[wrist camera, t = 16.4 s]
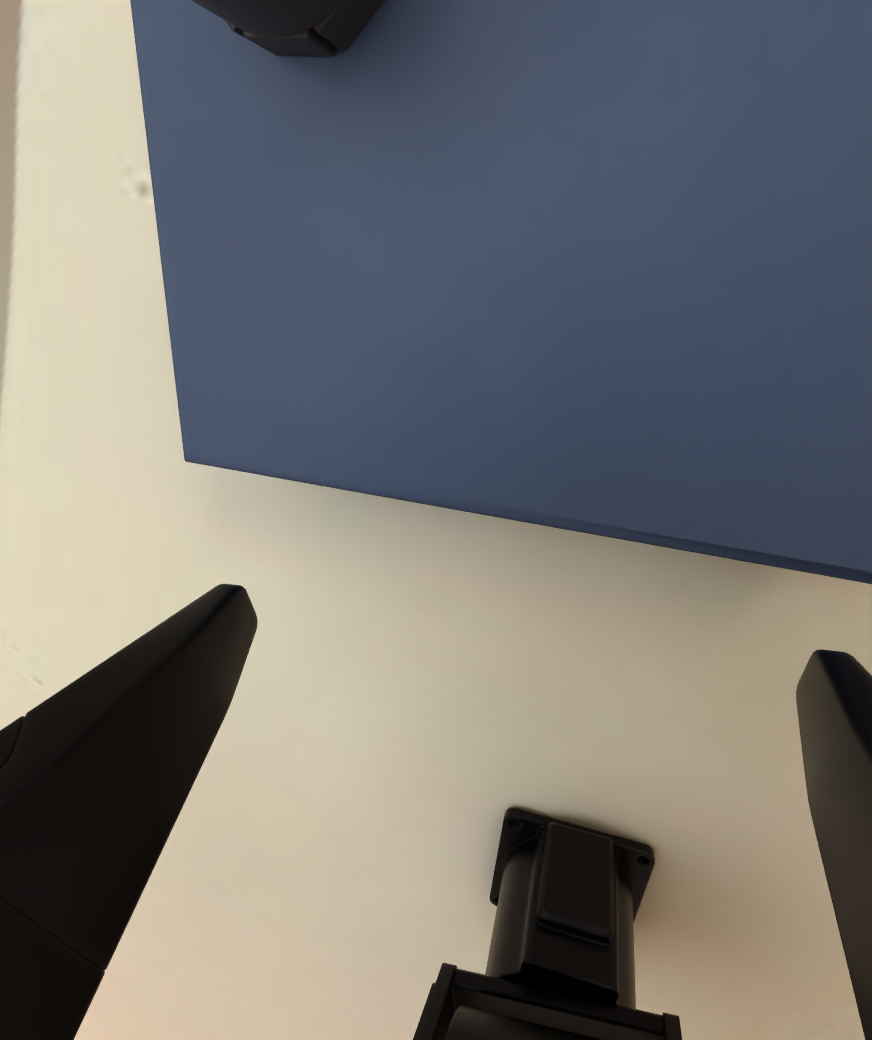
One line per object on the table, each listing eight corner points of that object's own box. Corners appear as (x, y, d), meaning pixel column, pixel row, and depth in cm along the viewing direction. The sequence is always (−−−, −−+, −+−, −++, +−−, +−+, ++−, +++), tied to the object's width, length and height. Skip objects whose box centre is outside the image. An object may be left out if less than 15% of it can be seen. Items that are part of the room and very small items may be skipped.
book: (834, 521, 18) (886, 587, 15) (250, 427, 22) (184, 461, 19) (1137, -226, 11) (1368, -433, 8) (212, -167, 16) (95, -286, 12)
